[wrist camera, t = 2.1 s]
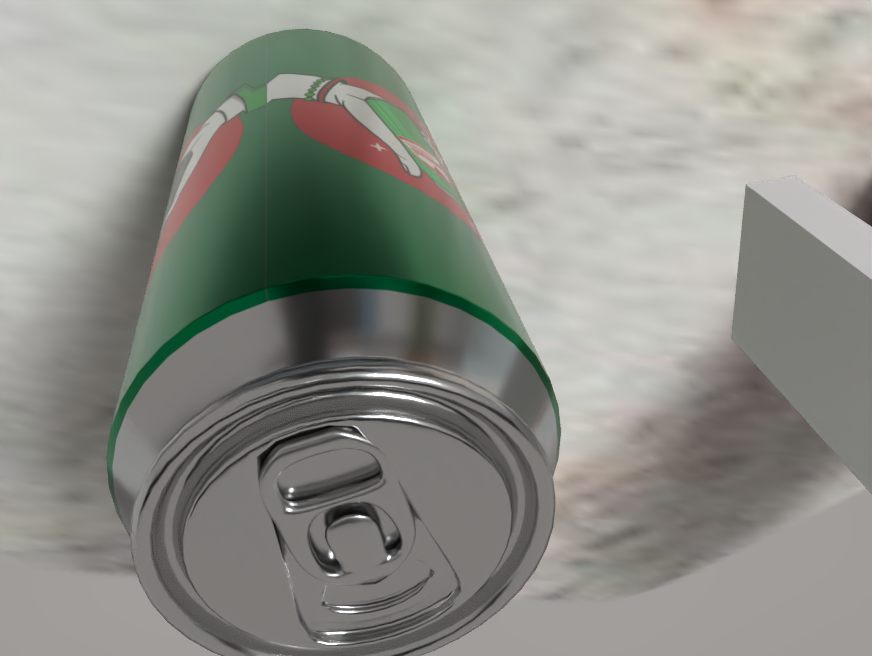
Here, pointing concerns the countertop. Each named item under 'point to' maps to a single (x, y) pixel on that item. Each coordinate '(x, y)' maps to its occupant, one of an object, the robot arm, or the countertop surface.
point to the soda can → (327, 377)
